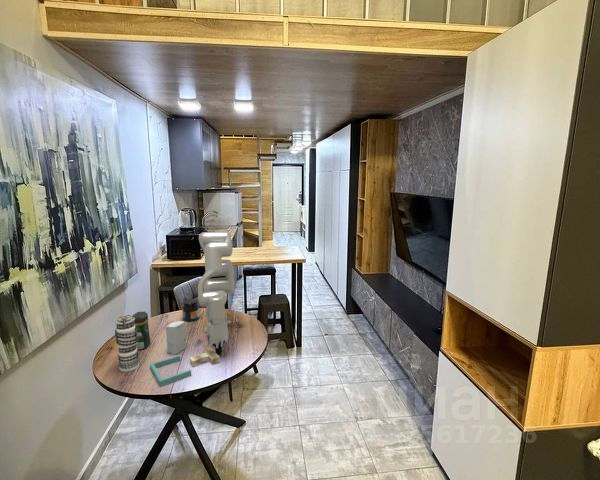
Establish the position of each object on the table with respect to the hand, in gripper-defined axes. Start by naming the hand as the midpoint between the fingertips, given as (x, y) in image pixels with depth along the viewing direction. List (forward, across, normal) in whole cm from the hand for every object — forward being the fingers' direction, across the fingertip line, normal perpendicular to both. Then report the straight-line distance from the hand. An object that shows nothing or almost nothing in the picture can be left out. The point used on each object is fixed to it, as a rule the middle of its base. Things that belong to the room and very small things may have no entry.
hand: (218, 353), depth 163 cm
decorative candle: (+1, +38, -17) cm, 42 cm away
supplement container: (+1, -5, -55) cm, 55 cm away
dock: (+1, +23, 0) cm, 23 cm away
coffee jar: (+1, +29, -35) cm, 46 cm away
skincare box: (+1, +15, -19) cm, 24 cm away
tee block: (+1, +8, 0) cm, 8 cm away
